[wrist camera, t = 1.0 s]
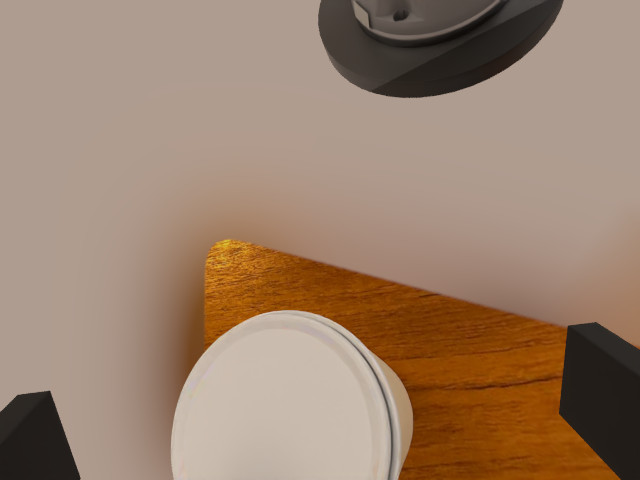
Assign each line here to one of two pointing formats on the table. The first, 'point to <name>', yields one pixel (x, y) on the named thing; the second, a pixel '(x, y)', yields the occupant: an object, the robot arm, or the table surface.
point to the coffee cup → (290, 406)
